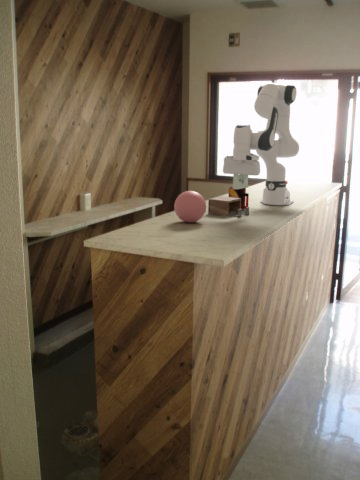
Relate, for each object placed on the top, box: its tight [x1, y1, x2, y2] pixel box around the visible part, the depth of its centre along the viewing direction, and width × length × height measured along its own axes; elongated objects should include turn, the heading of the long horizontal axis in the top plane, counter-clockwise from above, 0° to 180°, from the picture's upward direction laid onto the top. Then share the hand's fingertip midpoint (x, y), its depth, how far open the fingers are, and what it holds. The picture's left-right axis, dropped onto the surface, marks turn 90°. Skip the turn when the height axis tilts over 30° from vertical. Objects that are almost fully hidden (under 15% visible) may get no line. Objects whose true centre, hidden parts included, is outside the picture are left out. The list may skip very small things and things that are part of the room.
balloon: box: [173, 190, 207, 224], centre depth 238 cm, size 15×20×15 cm
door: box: [232, 174, 249, 189], centre depth 255 cm, size 12×3×7 cm, turn 144°
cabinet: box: [207, 196, 250, 218], centre depth 262 cm, size 14×18×8 cm
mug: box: [228, 186, 249, 211], centre depth 278 cm, size 10×14×12 cm
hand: (240, 183), depth 256 cm, fingers closed on door, 2 cm apart
